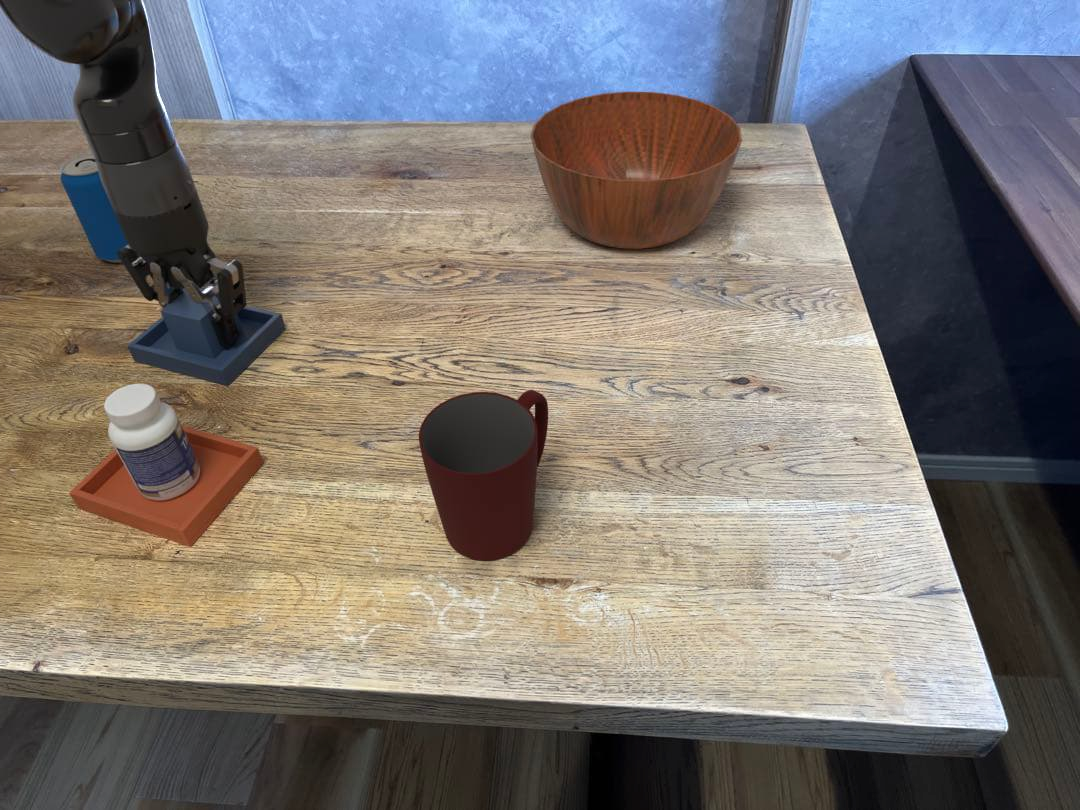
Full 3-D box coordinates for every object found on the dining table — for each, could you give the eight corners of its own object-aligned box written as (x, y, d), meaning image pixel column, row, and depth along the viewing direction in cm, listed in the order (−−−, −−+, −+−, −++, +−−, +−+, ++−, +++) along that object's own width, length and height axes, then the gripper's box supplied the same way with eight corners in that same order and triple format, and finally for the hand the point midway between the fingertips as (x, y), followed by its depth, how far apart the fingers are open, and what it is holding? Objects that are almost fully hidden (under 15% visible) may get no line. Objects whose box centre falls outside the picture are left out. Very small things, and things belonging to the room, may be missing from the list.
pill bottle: (213, 478, 73) (176, 397, 66) (156, 513, 70) (112, 431, 63) (184, 449, 75) (146, 368, 69) (128, 481, 73) (83, 400, 66)
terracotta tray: (78, 508, 71) (68, 492, 70) (158, 432, 78) (150, 416, 77) (190, 547, 68) (182, 531, 66) (264, 463, 75) (257, 447, 73)
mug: (508, 451, 75) (500, 357, 67) (585, 496, 70) (586, 401, 63) (414, 532, 68) (393, 438, 61) (493, 587, 64) (481, 493, 56)
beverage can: (144, 233, 106) (108, 145, 98) (157, 254, 102) (120, 165, 94) (92, 249, 104) (51, 160, 96) (103, 271, 100) (61, 181, 92)
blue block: (176, 349, 87) (159, 310, 83) (206, 322, 90) (191, 284, 87) (214, 359, 85) (199, 320, 82) (243, 331, 89) (230, 293, 85)
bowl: (684, 292, 92) (694, 200, 85) (497, 240, 102) (490, 154, 94) (757, 196, 108) (770, 111, 100) (589, 159, 118) (589, 79, 110)
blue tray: (134, 361, 86) (126, 345, 85) (196, 307, 93) (190, 292, 92) (228, 386, 83) (222, 370, 81) (286, 328, 90) (281, 313, 88)
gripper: (63, 200, 76) (132, 345, 87) (188, 224, 71) (242, 373, 83) (121, 164, 81) (179, 306, 92) (240, 185, 76) (285, 331, 88)
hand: (209, 337), depth 87 cm, fingers closed on blue block, 5 cm apart
